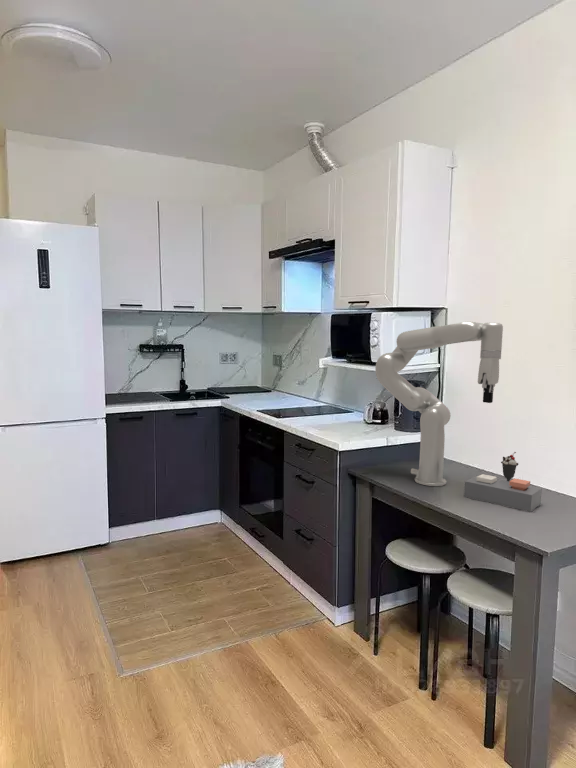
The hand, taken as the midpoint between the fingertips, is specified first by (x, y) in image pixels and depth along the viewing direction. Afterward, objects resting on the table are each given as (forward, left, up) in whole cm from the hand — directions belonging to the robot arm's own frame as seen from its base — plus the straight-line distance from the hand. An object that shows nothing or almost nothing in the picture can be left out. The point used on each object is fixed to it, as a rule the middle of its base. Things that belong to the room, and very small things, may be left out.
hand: (487, 402), depth 207 cm
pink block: (+16, -7, -34) cm, 38 cm away
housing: (+10, -7, -35) cm, 37 cm away
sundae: (+6, +12, -35) cm, 38 cm away
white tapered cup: (+4, -7, -35) cm, 36 cm away
